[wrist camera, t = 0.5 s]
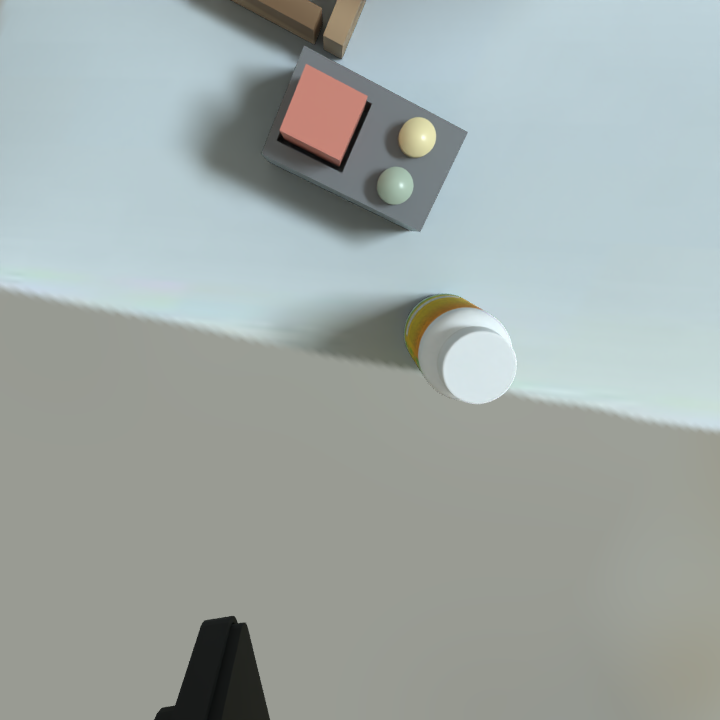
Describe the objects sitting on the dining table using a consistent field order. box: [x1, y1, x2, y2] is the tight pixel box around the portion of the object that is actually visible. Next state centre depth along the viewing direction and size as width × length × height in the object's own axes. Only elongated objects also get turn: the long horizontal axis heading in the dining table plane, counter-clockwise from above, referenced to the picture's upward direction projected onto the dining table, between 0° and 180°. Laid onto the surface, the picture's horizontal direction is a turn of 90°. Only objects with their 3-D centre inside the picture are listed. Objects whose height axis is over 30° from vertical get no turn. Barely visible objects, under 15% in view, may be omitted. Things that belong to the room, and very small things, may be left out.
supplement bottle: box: [404, 294, 517, 404], centre depth 32 cm, size 5×5×10 cm
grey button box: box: [261, 46, 468, 232], centre depth 31 cm, size 6×10×5 cm, turn 65°
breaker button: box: [279, 64, 368, 167], centre depth 28 cm, size 3×3×3 cm
